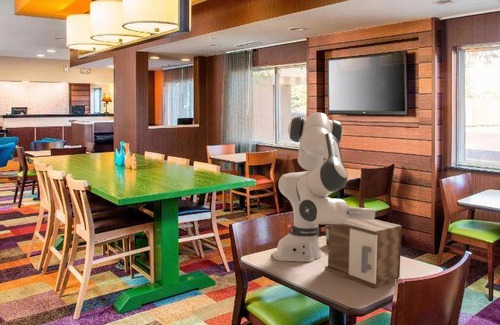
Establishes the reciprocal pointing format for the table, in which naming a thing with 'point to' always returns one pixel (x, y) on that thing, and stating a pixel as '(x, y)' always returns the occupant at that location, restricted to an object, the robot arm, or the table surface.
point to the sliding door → (363, 255)
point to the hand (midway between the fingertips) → (358, 212)
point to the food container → (327, 234)
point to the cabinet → (385, 249)
